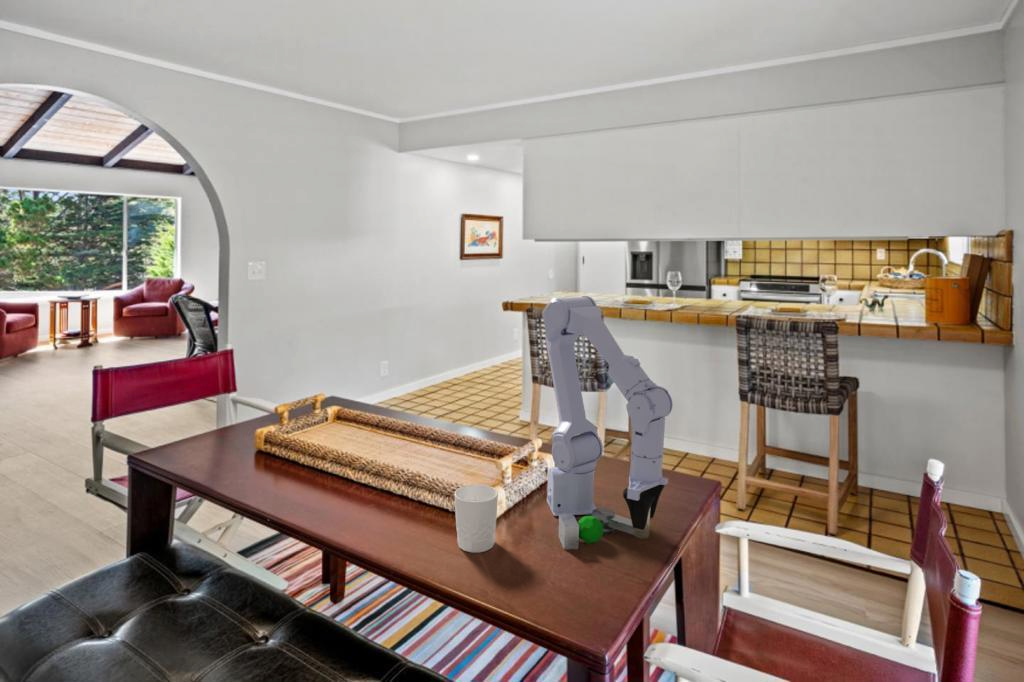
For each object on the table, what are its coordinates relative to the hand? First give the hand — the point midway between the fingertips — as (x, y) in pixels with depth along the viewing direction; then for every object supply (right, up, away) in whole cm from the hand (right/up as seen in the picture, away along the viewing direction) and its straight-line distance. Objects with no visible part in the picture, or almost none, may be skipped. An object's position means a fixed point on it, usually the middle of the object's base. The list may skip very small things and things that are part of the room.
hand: (643, 522), depth 115 cm
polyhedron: (-10, -4, 0) cm, 11 cm away
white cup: (-31, -4, -2) cm, 31 cm away
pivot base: (-7, -3, +4) cm, 9 cm away
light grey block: (-14, -3, -1) cm, 15 cm away
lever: (-4, -2, +2) cm, 5 cm away
